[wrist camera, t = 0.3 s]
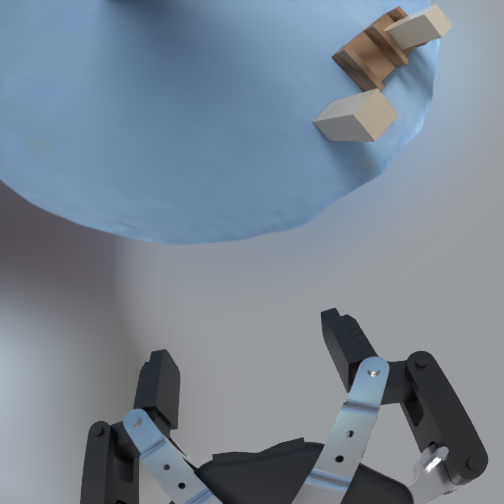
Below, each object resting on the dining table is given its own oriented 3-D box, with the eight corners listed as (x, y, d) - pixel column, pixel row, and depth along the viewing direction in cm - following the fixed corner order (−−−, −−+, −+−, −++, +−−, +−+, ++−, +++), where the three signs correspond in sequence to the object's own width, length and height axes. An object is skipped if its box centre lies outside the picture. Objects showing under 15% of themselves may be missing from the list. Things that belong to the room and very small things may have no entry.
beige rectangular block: (312, 121, 36) (352, 114, 25) (333, 100, 35) (377, 88, 24) (330, 141, 38) (375, 141, 27) (350, 120, 37) (398, 115, 26)
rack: (331, 57, 33) (343, 49, 29) (386, 13, 30) (399, 6, 26) (365, 94, 36) (380, 91, 32) (414, 46, 33) (428, 41, 29)
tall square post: (378, 34, 31) (424, 14, 20) (391, 23, 30) (436, 4, 19) (393, 52, 32) (441, 37, 21) (406, 40, 31) (452, 26, 20)
